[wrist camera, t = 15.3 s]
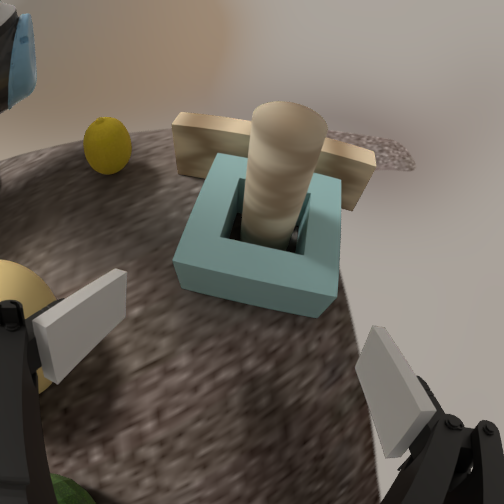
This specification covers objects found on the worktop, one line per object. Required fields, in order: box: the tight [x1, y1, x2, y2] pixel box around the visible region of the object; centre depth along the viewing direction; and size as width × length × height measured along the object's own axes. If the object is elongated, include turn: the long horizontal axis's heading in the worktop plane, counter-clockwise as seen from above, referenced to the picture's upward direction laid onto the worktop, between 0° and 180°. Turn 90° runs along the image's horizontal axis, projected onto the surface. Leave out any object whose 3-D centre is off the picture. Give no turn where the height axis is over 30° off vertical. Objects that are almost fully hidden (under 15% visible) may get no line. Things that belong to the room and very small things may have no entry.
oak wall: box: [172, 112, 376, 211], centre depth 28 cm, size 20×2×7 cm, turn 78°
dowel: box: [240, 101, 328, 251], centre depth 21 cm, size 4×4×14 cm
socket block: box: [172, 153, 341, 318], centre depth 25 cm, size 12×12×5 cm
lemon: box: [83, 117, 132, 174], centre depth 27 cm, size 6×6×8 cm
